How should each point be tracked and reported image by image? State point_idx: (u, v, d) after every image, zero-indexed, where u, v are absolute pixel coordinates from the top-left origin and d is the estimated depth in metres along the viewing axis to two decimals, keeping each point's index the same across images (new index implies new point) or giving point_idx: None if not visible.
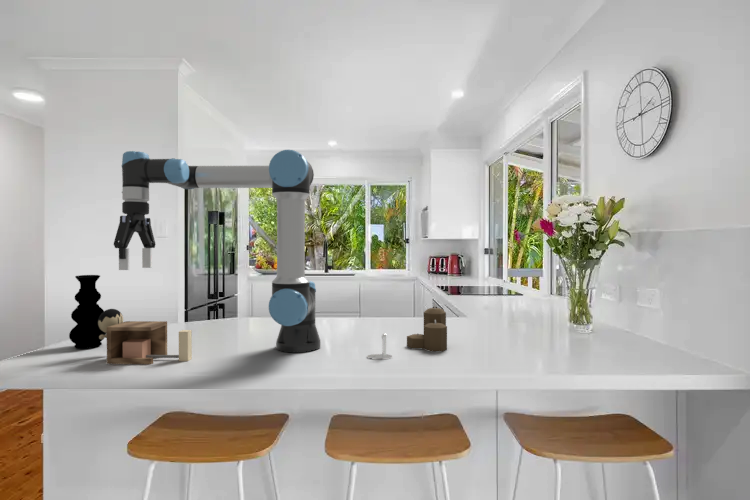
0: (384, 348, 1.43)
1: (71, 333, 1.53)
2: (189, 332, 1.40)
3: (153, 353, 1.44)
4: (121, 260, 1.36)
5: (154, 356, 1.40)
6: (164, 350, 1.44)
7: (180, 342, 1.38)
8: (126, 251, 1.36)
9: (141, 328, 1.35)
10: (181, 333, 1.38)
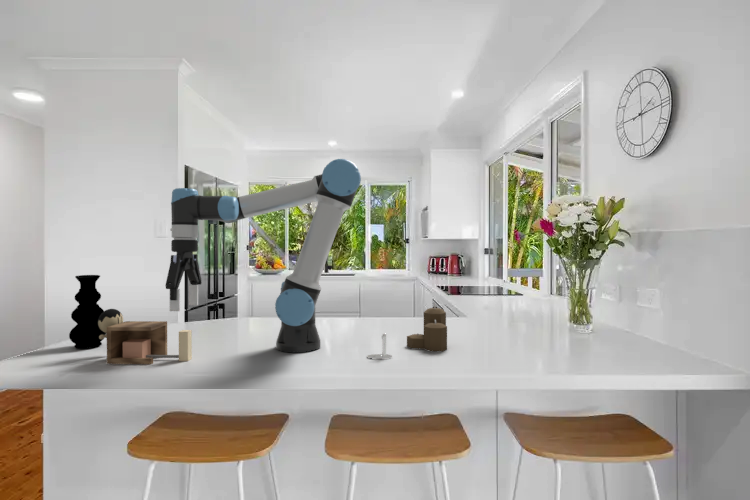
0: (384, 348, 1.43)
1: (71, 333, 1.53)
2: (189, 332, 1.40)
3: (153, 353, 1.44)
4: (172, 301, 1.33)
5: (154, 356, 1.40)
6: (164, 350, 1.44)
7: (180, 342, 1.38)
8: (177, 291, 1.32)
9: (141, 328, 1.35)
10: (181, 333, 1.38)
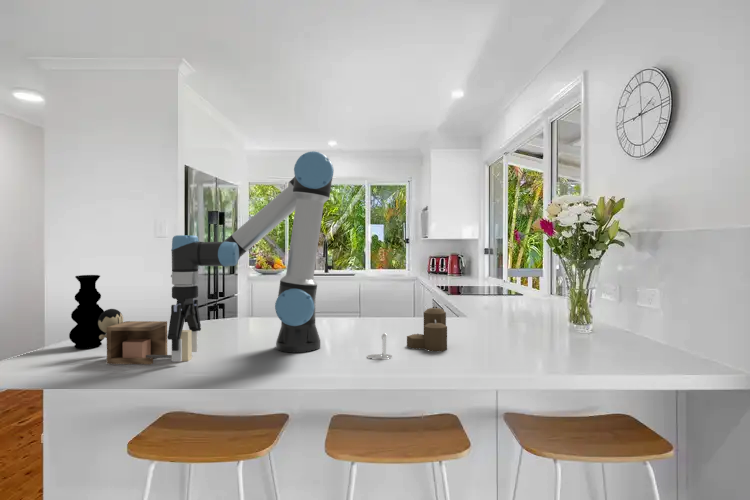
0: (384, 348, 1.43)
1: (71, 333, 1.53)
2: (189, 332, 1.40)
3: (153, 353, 1.44)
4: (174, 351, 1.34)
5: (154, 356, 1.40)
6: (164, 350, 1.44)
7: None
8: (179, 342, 1.34)
9: (141, 328, 1.35)
10: (181, 333, 1.38)
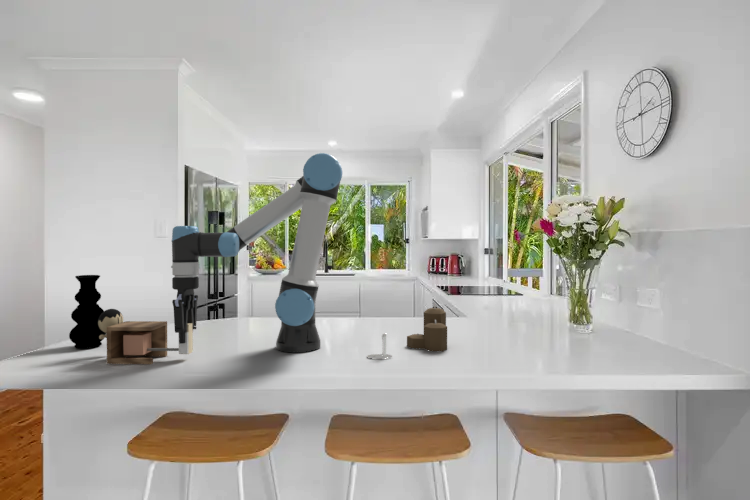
0: (384, 348, 1.43)
1: (71, 333, 1.53)
2: (190, 325, 1.40)
3: (153, 353, 1.44)
4: (181, 344, 1.38)
5: (155, 349, 1.40)
6: None
7: None
8: (185, 335, 1.38)
9: (141, 328, 1.35)
10: None
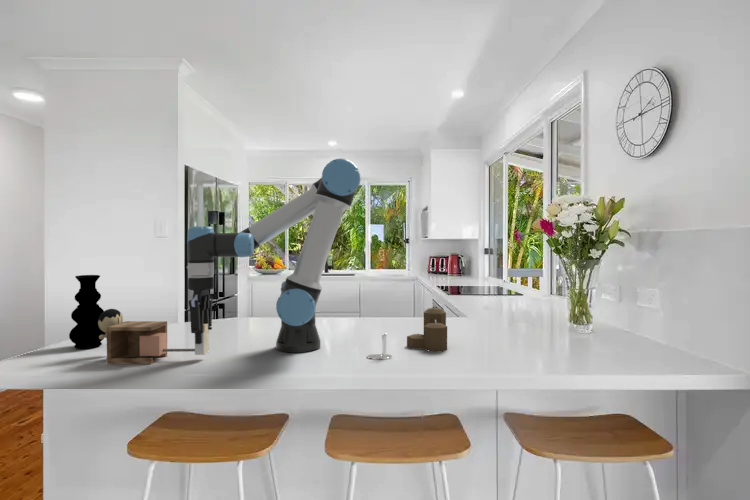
0: (384, 348, 1.43)
1: (71, 333, 1.53)
2: (206, 326, 1.40)
3: None
4: (197, 344, 1.38)
5: (171, 350, 1.40)
6: None
7: None
8: (202, 335, 1.38)
9: (141, 328, 1.35)
10: None
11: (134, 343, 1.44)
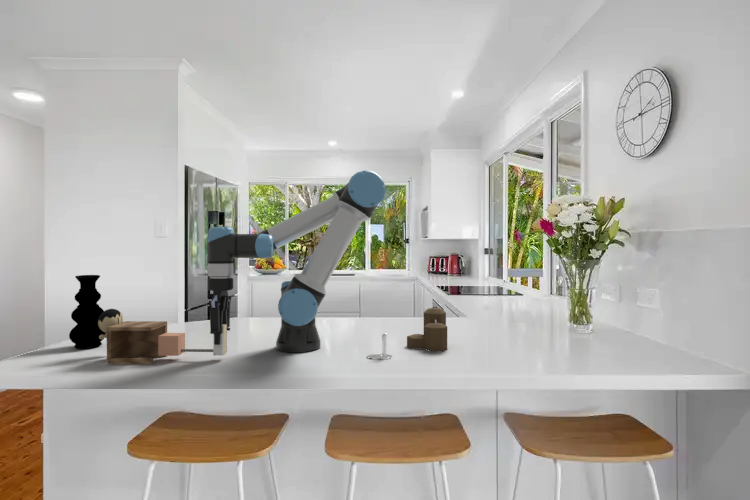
0: (384, 348, 1.43)
1: (71, 333, 1.53)
2: (224, 326, 1.40)
3: (153, 353, 1.44)
4: (216, 345, 1.38)
5: (189, 350, 1.39)
6: None
7: None
8: (220, 336, 1.38)
9: (141, 328, 1.35)
10: None
11: (134, 343, 1.44)
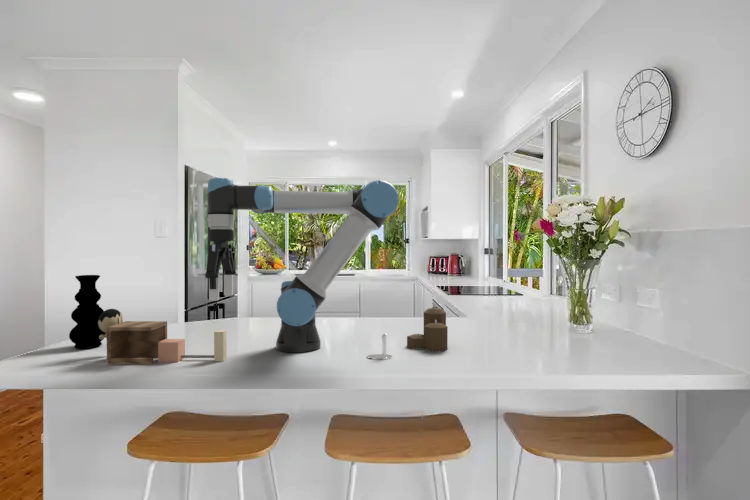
0: (384, 348, 1.43)
1: (71, 333, 1.53)
2: (224, 332, 1.40)
3: (153, 353, 1.44)
4: (211, 290, 1.33)
5: (189, 356, 1.39)
6: None
7: (215, 342, 1.38)
8: (216, 280, 1.33)
9: (141, 328, 1.35)
10: (216, 333, 1.38)
11: (134, 343, 1.44)
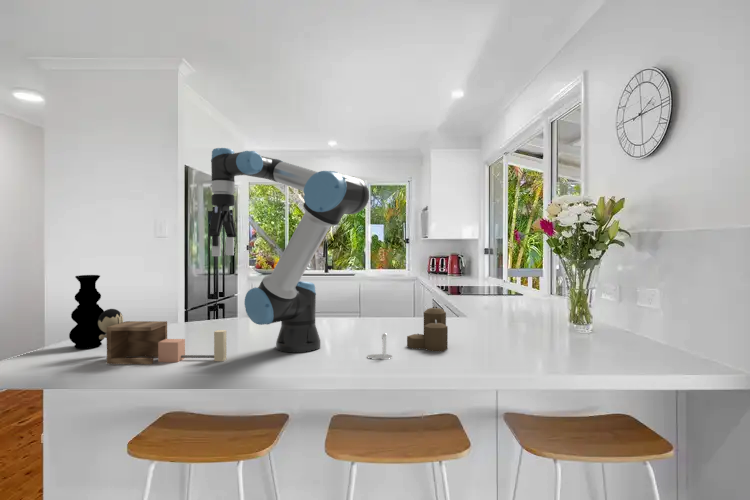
0: (384, 348, 1.43)
1: (71, 333, 1.53)
2: (224, 332, 1.40)
3: (153, 353, 1.44)
4: (214, 247, 1.49)
5: (189, 356, 1.39)
6: None
7: (215, 342, 1.38)
8: (218, 239, 1.49)
9: (141, 328, 1.35)
10: (216, 333, 1.38)
11: (134, 343, 1.44)
